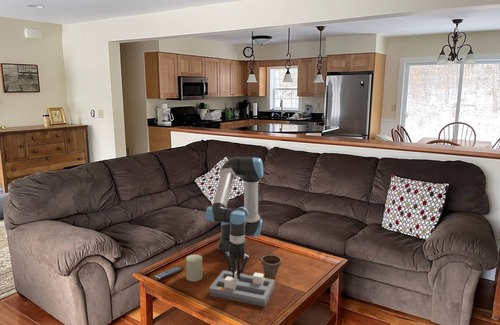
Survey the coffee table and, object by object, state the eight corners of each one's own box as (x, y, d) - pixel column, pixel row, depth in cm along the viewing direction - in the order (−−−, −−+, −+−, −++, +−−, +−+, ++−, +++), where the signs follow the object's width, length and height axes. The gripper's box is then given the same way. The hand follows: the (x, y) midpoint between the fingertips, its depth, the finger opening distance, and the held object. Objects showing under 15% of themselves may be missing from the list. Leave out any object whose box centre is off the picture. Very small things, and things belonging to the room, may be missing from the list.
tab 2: (254, 282, 202) (255, 272, 200) (263, 284, 200) (264, 273, 199) (252, 286, 198) (252, 275, 197) (261, 287, 196) (262, 277, 195)
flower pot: (284, 278, 212) (285, 261, 210) (266, 282, 207) (267, 265, 205) (273, 268, 222) (274, 253, 220) (257, 272, 217) (257, 256, 215)
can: (194, 283, 203) (194, 262, 201) (182, 277, 209) (182, 257, 206) (205, 276, 210) (206, 257, 208) (194, 271, 216) (194, 252, 213)
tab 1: (226, 286, 197) (227, 276, 196) (235, 288, 195) (236, 277, 194) (224, 290, 193) (224, 279, 192) (233, 292, 192) (233, 281, 190)
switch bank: (223, 276, 211) (223, 269, 210) (274, 286, 202) (274, 279, 202) (208, 295, 192) (209, 287, 191) (265, 306, 184) (265, 299, 183)
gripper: (222, 242, 186) (221, 285, 191) (247, 246, 182) (245, 290, 187) (227, 236, 193) (226, 278, 198) (251, 240, 189) (250, 282, 194)
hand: (236, 284), depth 193 cm, fingers closed
